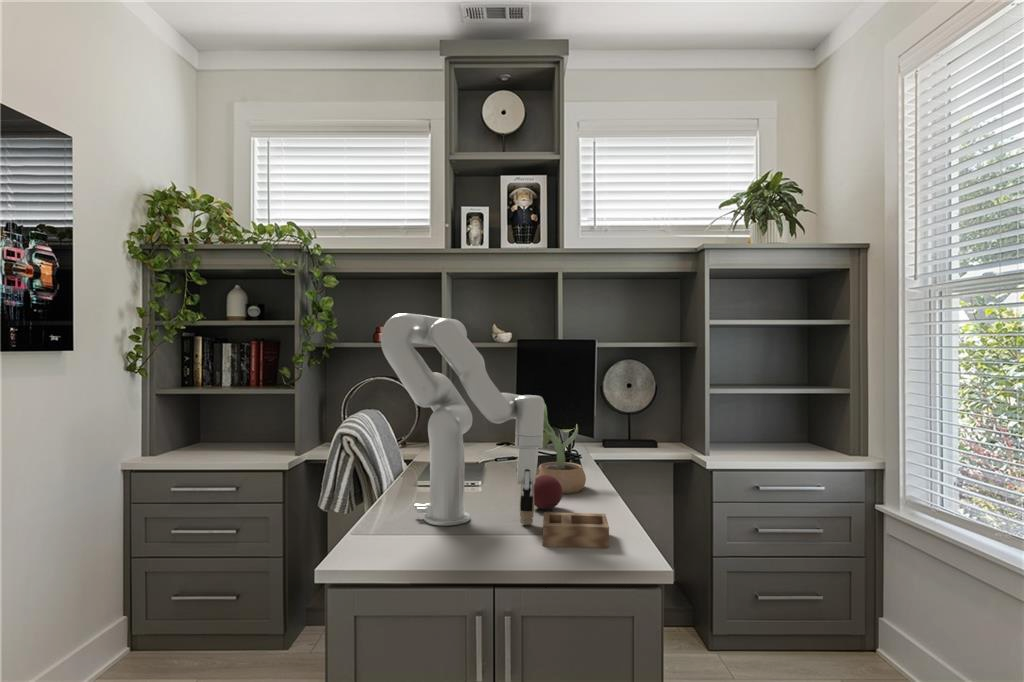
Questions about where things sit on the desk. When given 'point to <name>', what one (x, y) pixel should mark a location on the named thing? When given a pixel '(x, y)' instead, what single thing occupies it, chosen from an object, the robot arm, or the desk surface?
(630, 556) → the desk surface
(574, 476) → the potted plant
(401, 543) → the desk surface
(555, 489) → the decorative ball
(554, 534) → the wooden shelf
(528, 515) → the handle
